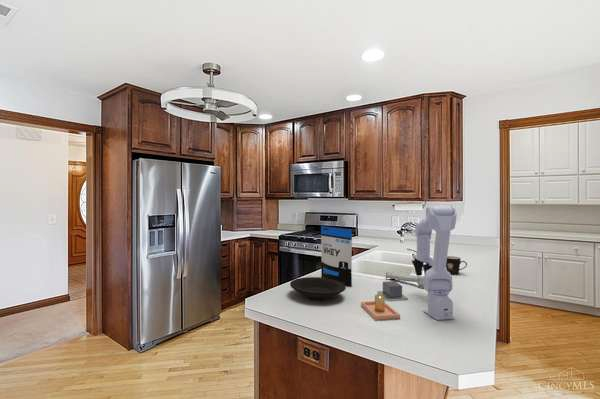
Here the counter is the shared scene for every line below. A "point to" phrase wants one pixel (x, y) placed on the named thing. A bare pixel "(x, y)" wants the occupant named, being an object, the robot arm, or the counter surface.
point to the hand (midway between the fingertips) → (423, 277)
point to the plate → (317, 287)
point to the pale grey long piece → (406, 278)
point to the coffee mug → (453, 265)
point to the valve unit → (392, 291)
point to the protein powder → (336, 254)
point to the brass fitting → (380, 303)
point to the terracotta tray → (387, 315)
